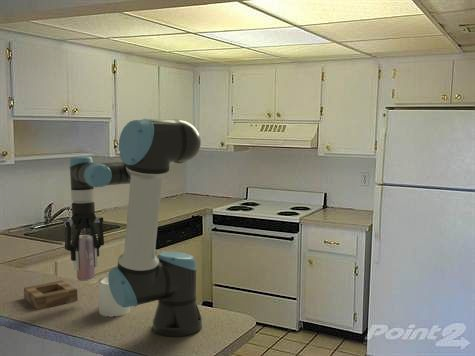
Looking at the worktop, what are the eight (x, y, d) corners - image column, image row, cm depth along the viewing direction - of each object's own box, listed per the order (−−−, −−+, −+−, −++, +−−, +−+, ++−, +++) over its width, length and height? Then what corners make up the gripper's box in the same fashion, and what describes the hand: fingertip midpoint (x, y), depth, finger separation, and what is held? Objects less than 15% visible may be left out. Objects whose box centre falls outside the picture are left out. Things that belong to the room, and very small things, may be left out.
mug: (96, 304, 179) (96, 274, 178) (126, 301, 182) (125, 271, 181) (100, 318, 166) (99, 286, 165) (132, 314, 170) (131, 283, 169)
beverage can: (88, 275, 182) (86, 233, 181) (98, 278, 179) (96, 235, 177) (73, 279, 178) (71, 236, 177) (83, 282, 174) (81, 238, 173)
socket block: (77, 300, 183) (77, 289, 182) (37, 309, 174) (37, 297, 174) (62, 290, 194) (62, 280, 193) (24, 298, 185) (23, 287, 184)
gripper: (103, 198, 185) (106, 261, 187) (51, 203, 173) (54, 270, 175) (113, 199, 179) (115, 265, 181) (59, 205, 167) (62, 275, 169)
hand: (85, 267), depth 178 cm, fingers closed on beverage can, 6 cm apart
